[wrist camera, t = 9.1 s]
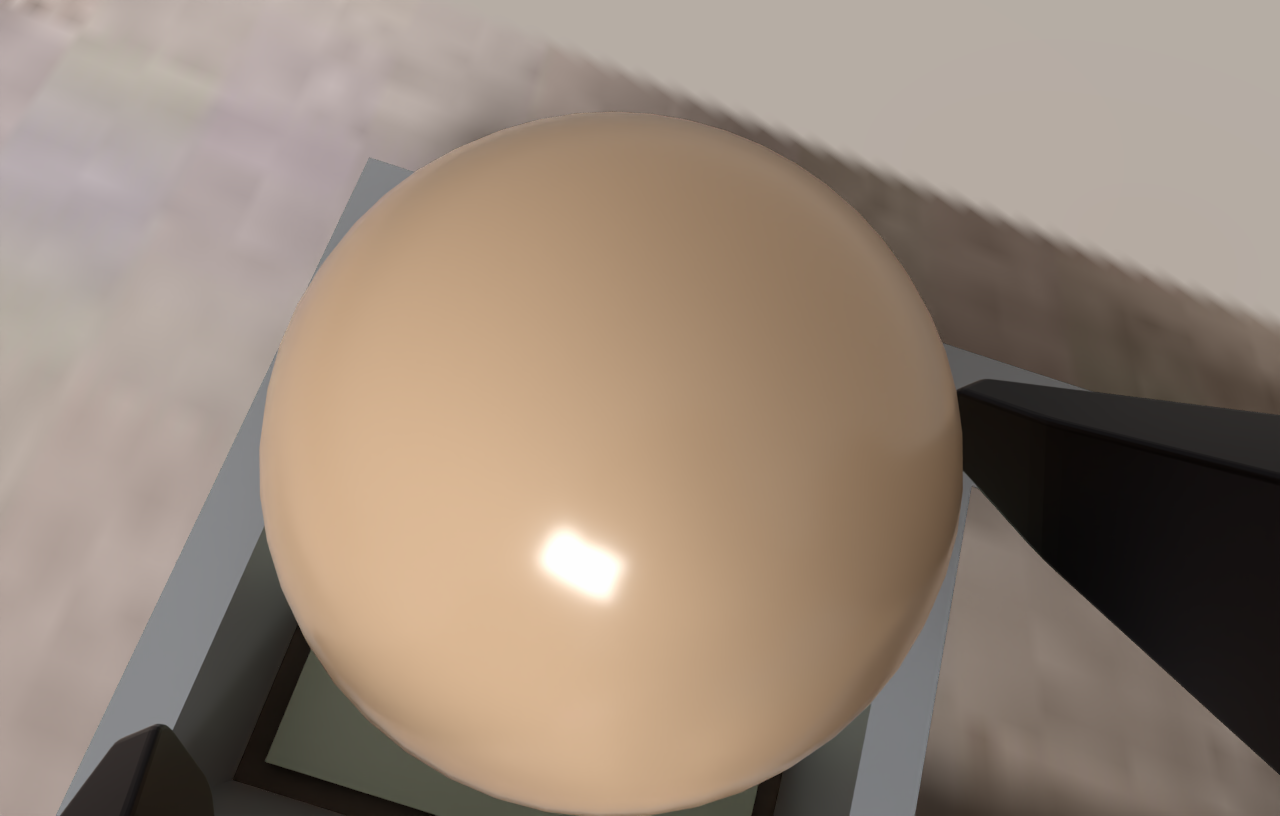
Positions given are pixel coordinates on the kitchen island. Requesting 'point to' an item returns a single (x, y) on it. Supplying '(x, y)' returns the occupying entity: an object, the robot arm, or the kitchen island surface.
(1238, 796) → the kitchen island surface
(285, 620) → the carton frame
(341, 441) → the beige rounded cylinder
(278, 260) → the kitchen island surface
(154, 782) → the robot arm
